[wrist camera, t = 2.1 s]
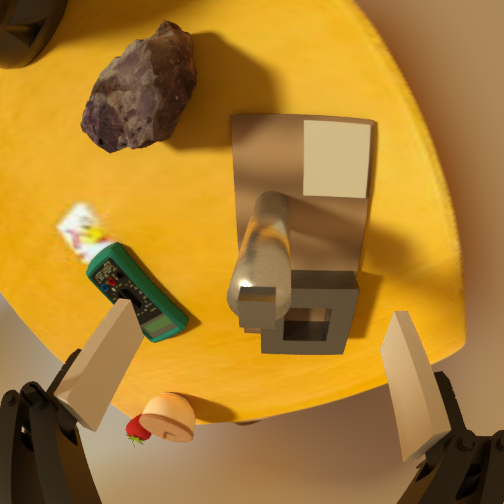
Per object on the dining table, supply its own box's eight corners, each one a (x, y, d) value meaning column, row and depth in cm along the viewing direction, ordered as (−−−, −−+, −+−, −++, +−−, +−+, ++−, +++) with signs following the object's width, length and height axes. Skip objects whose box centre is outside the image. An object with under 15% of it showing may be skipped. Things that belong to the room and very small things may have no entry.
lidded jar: (166, 380, 45) (151, 421, 37) (211, 406, 48) (201, 446, 40) (142, 392, 50) (128, 428, 41) (182, 416, 53) (172, 450, 44)
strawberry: (162, 417, 55) (151, 451, 46) (146, 420, 58) (135, 451, 49) (143, 405, 53) (129, 440, 44) (128, 408, 56) (115, 440, 47)
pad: (303, 120, 22) (304, 120, 22) (368, 124, 22) (370, 125, 21) (303, 193, 26) (303, 195, 25) (363, 196, 25) (365, 198, 24)
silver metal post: (253, 190, 26) (219, 286, 13) (289, 191, 26) (292, 288, 12) (254, 223, 28) (226, 336, 15) (289, 224, 27) (289, 340, 14)
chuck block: (262, 269, 30) (259, 287, 27) (353, 270, 29) (359, 289, 26) (263, 333, 35) (261, 353, 32) (339, 334, 34) (342, 354, 31)
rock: (112, 103, 24) (170, 159, 27) (54, 120, 18) (120, 191, 20) (173, 17, 18) (247, 75, 21) (116, 3, 11) (209, 73, 14)
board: (231, 115, 23) (230, 115, 23) (371, 119, 22) (373, 120, 21) (245, 329, 36) (244, 332, 35) (342, 331, 34) (343, 334, 34)
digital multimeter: (116, 235, 32) (104, 246, 29) (192, 317, 37) (186, 332, 34) (90, 261, 34) (79, 273, 32) (159, 333, 39) (152, 347, 37)
